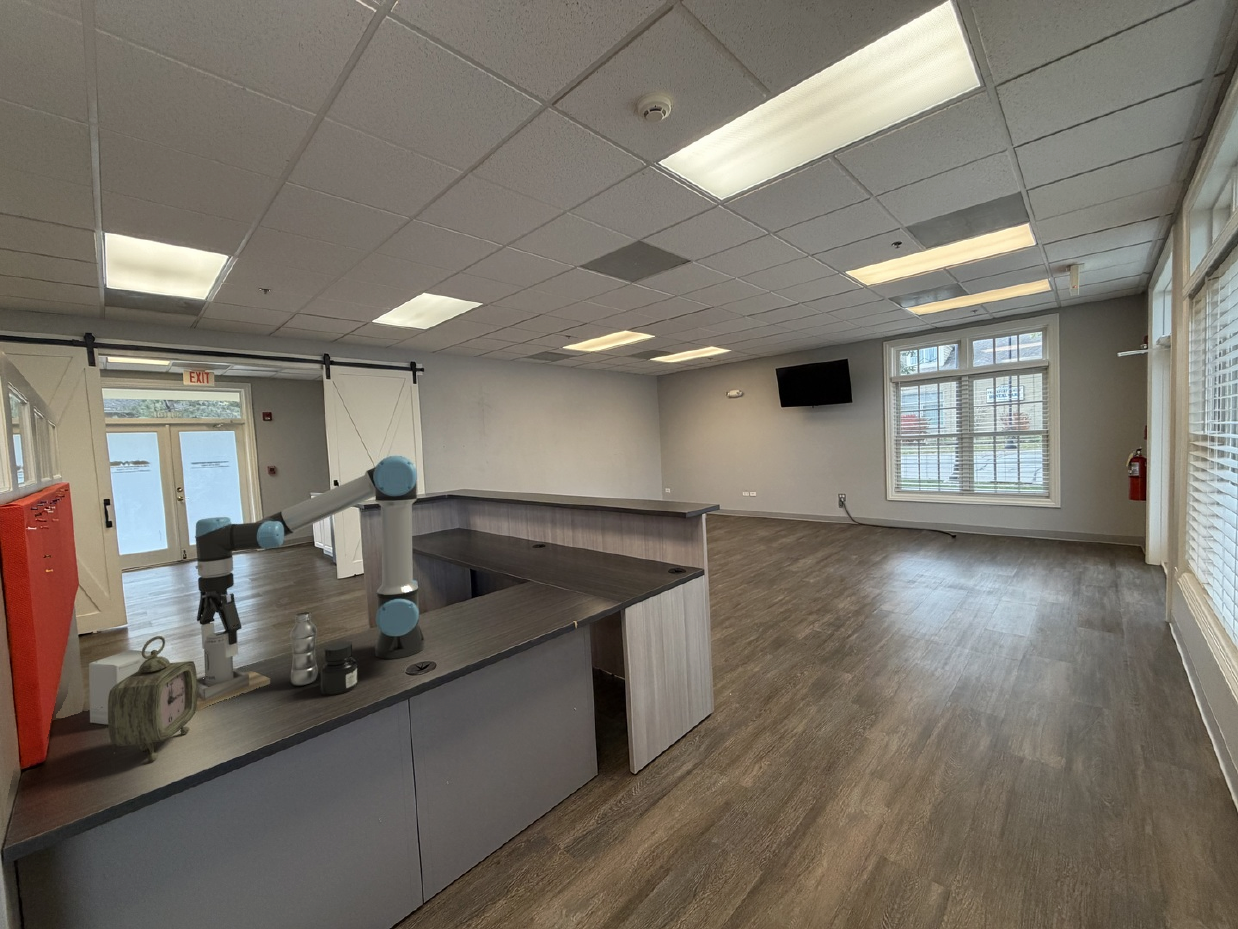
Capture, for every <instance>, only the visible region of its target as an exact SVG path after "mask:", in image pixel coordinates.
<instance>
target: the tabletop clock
mask: <svg viewBox="0 0 1238 929" xmlns="http://www.w3.org/2000/svg"><path fill="white" fill-rule="evenodd" d="M156 640H161V642H162V646H160V648H159V649H158V650H157V649H153V650H151V651H150V652H151V655H150V656H145V651H147V650H146V649H147V647H148V646H149V645H150V644H151V643H152V642H154V641H156ZM165 646H166V640H165V638H164V637H163V636H162V635H161V636H160V635H157V636H154V637H152V638H150V639H149V640H147V641H146V642H145V644H144V645H143V647H142V650H141V651H142V656H143V658H145V659H147V660H145V661H144V662H143V663H142V665H141V666H140V668H139V670H138V671H137V672H136V673H134V674H132V675H130V676H129V677H127V678H125V679H124V680H122V681H121V682H119V683H118V684H116V685H115V686H114V687H113V688H112V689H111V690H110V693H109V697H108V726H107V727H108V736H109V739H110V741H111V743H113V744H114V745H116V746H117V747H122V746H123V747H124V746H126V747H127V746H132V745H133V746H134V745H140V746H139V749H140V751H142V752H145V751H147V750H148V751H149V753H150V754H149V755H148V756H147V761H149V762H154V761H156V760H157V759H158V757H159V754H158V753H157V752H155V749H154V748H155V747H154V746H155V745H154V743H157V742H158V743H159V742H164V741H166V740H168V739H170V738H171V737H172V736H174V735H175V734H177V733H178V732H179V731H180V734H182V735H186V734H188V733H189V731H190V727H189V726H186V724H188V723H189V722H190V721H191V720H192V718H193V717H194V715H195V713H196V712H197V711H196V706H197V678H198V675H197V669H196V664H195V662H194V661H193V660H188V661H176V662H171V661H170V660H169V659H168V658H166V657H164V656H159V654H161V652H162V651H163V650H164V648H165Z"/></svg>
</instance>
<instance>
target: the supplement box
mask: <svg viewBox="0 0 1238 929" xmlns="http://www.w3.org/2000/svg"><path fill="white" fill-rule="evenodd" d="M150 655H151V651H147V650H145V656H150ZM145 660H147V659H145V658H143V656H142V650H137V649H135V650H134V649H128V650H126V651H122V652H119V653H116V654H113V655H110V656H107V657H104V658H100V659H98V660H95V661H92V662H89V663H88V673H89V674H88V676H89V678H88V680H89V682H88V683H89V723H91V724H93V723H94V724H100V725H101V724H102V725H108V697H109V693H110V690H111V689H112V688H113V687H114V686H115V685H116V684H118V683H119V682H121V681H122V680H124V679H125V678H127V677H129V676H130V675H132V674H134V673H136V672H137V671H138V670H139V668H140V666H141V665H142V663H143V662H144V661H145ZM101 707H103V708H101Z"/></svg>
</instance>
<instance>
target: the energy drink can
mask: <svg viewBox="0 0 1238 929" xmlns="http://www.w3.org/2000/svg"><path fill="white" fill-rule="evenodd" d="M224 631H225V630H223V631H217V632H215V633H212V634H210V635H208V636H207V639H206V641H205V642H204V649H203V653H204V654H203V655H204V656H203V657H204V676H205V686H207V687H210V686H213V685H216V684H219V683H222V682H225V681H228V680H231V679H233V668H234V663H233V662H234V661H233V659H234V658H233V656H231V657H227V658H226V657H225V644H224V634H223V632H224Z"/></svg>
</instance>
